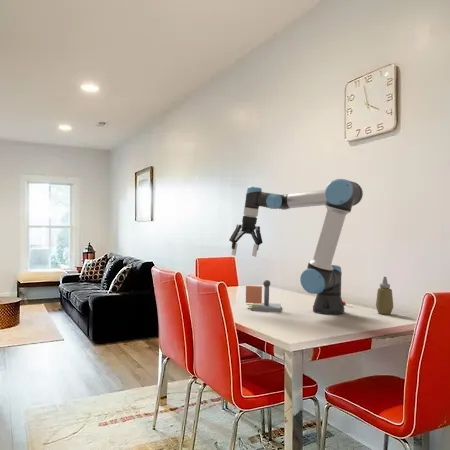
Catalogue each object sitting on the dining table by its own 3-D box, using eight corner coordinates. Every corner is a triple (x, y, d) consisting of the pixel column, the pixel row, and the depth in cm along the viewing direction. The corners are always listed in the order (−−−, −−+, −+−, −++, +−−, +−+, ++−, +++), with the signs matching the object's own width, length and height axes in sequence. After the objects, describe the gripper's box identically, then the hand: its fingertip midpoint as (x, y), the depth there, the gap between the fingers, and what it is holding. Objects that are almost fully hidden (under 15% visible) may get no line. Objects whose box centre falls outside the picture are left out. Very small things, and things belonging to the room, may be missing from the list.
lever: (270, 304, 218) (270, 279, 218) (269, 305, 214) (270, 280, 214) (246, 303, 219) (246, 278, 220) (245, 304, 216) (245, 279, 216)
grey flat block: (280, 306, 222) (280, 303, 222) (280, 311, 208) (280, 308, 208) (247, 305, 225) (247, 301, 225) (245, 310, 211) (245, 306, 211)
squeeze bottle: (380, 311, 214) (380, 275, 215) (396, 313, 209) (396, 276, 209) (372, 313, 209) (373, 276, 209) (388, 316, 203) (389, 278, 203)
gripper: (264, 217, 235) (258, 255, 237) (226, 213, 221) (220, 253, 223) (272, 219, 229) (266, 258, 230) (234, 215, 215) (228, 256, 217)
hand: (243, 255), depth 227 cm, fingers open, 13 cm apart
